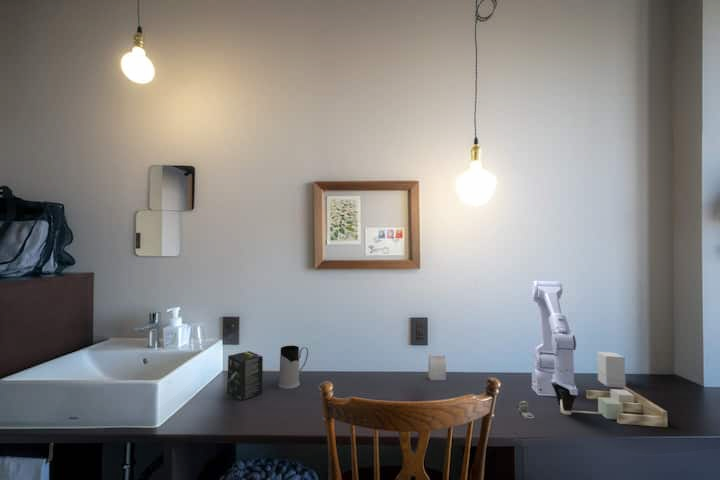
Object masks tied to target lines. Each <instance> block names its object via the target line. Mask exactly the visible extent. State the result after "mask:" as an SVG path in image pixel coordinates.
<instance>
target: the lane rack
mask: <svg viewBox="0 0 720 480" xmlns="http://www.w3.org/2000/svg"><path fill="white" fill-rule="evenodd" d="M622 390H626V391H628V392H629V393H631V394H633V395H634V401H635V403H629V402H620V403H622V404H623V413H617V419H616V422H617V423H618V424H621V425H636V426H645V427H647V426H648V427H649V426H650V427H662V428H668V426H669V425H668V411H667V410H665V409H664V408H662V407H660V406H659V405H657V404H655V403H654V402H652V401H651V400H649V399H647V398H646V397H644V396H642V395H641V394H639V393H637V392H635V391H634V390H633V389H631V388H629V387H627V386H626V387H623V388H622ZM585 393H586V396H585V397H586V399H587V400H588V399H589V400H598V397H604V398H611V391H609V390H608V391H606V390H592V389H591V390H590V389H586V391H585ZM624 412H626V413H624ZM634 413H637V414H634Z"/></svg>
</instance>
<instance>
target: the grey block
mask: <svg viewBox="0 0 720 480" xmlns="http://www.w3.org/2000/svg"><path fill="white" fill-rule="evenodd" d="M609 390H610V391H611V398H614V399H616V400H617V401H619V402H629V403H635V401H634V395H633V394H631V393H629V392H628V391H626V390H623V389H613V388H610V389H609Z"/></svg>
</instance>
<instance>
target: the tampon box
mask: <svg viewBox="0 0 720 480" xmlns="http://www.w3.org/2000/svg"><path fill="white" fill-rule="evenodd" d="M263 358H264V357H263V355H260V354H258V353H255V352H252V351H249V350H248V351H244V352H239V353H235V354H230V355H228V358H227V385H226V387H227V391H226V393H227V394H228V395H229V396H231V397H232V398H234V399H235V400H237V401H240V402H241V401H245V400H247V399H251V398H254V397H257V396H260V395H262V394H263V392H264V391H263V377H264V376H263V373H264V372H263V371H264V370H263V369H264V368H263V366H264V365H263V364H264V361H263V360H264V359H263Z"/></svg>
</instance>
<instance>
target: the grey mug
mask: <svg viewBox="0 0 720 480" xmlns="http://www.w3.org/2000/svg"><path fill="white" fill-rule="evenodd" d="M304 349H305V350H306V356H305V360H304V363H303V364H302V366H301V368H300V359H301V357H302V356H301V355H302V351H303V350H304ZM279 355H280V356H279V381H278V385H277V386H278V388H280V389H284V390H285V389H286V390H288V389H290V390H292V389H295V388H298V387H299V386H300V380H299V379H300V373H301V372H302V370H303V369H304V367H305V365H306V364H307V360H308V357H309V349H308V348H307V347H306V346H303V347H302V348H301V349H300V347H299V346H298V345H284V346H282V347H280V354H279Z"/></svg>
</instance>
